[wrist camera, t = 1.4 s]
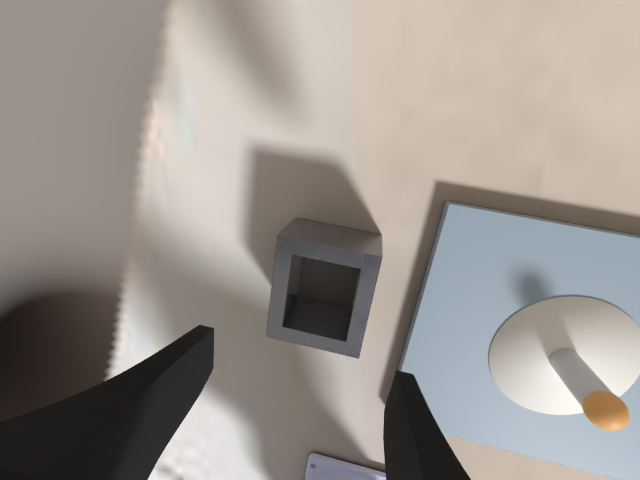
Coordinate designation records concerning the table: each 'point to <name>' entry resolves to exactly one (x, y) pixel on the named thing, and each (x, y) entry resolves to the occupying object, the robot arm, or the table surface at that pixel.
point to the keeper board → (532, 338)
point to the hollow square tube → (315, 315)
